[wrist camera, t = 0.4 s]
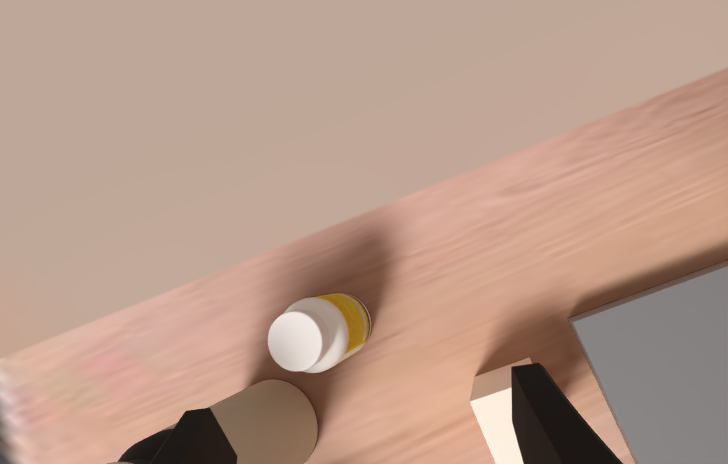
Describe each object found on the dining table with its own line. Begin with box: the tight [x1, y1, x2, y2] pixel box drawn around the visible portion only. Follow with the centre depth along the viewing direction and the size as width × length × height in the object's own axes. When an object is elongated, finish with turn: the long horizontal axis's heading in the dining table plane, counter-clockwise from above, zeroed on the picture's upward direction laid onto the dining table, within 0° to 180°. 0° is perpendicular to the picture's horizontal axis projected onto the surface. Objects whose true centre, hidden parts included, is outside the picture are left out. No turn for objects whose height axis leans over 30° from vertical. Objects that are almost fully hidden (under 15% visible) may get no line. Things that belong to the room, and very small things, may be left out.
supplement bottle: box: [268, 293, 371, 373], centre depth 35 cm, size 5×5×10 cm
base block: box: [567, 260, 728, 464], centre depth 32 cm, size 12×12×2 cm
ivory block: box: [470, 358, 532, 464], centre depth 33 cm, size 4×4×7 cm
